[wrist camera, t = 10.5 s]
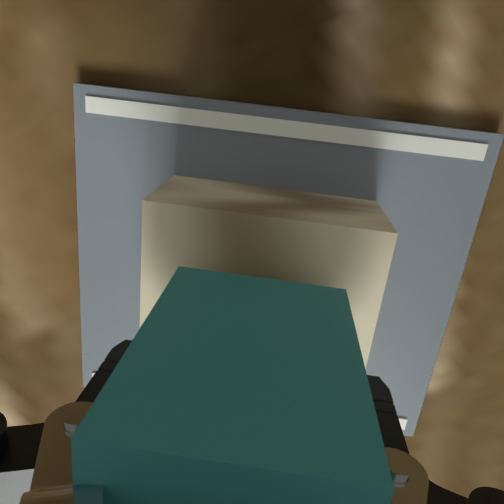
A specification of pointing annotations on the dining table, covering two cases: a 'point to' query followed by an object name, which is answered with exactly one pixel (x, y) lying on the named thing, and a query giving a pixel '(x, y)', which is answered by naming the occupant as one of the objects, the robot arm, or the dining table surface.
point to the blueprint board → (283, 177)
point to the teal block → (237, 401)
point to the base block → (268, 241)
